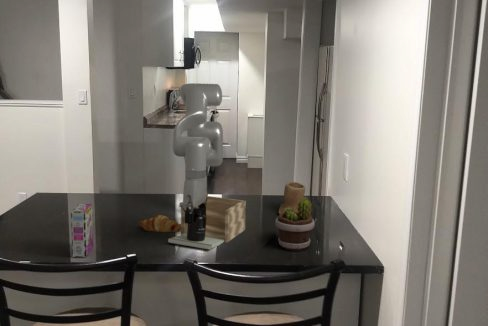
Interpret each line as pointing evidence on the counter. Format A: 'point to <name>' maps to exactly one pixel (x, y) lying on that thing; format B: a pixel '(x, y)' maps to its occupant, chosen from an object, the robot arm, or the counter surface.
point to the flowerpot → (295, 226)
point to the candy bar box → (82, 230)
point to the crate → (221, 218)
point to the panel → (196, 242)
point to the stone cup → (292, 196)
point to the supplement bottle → (197, 225)
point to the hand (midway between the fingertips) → (195, 219)
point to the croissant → (160, 224)
